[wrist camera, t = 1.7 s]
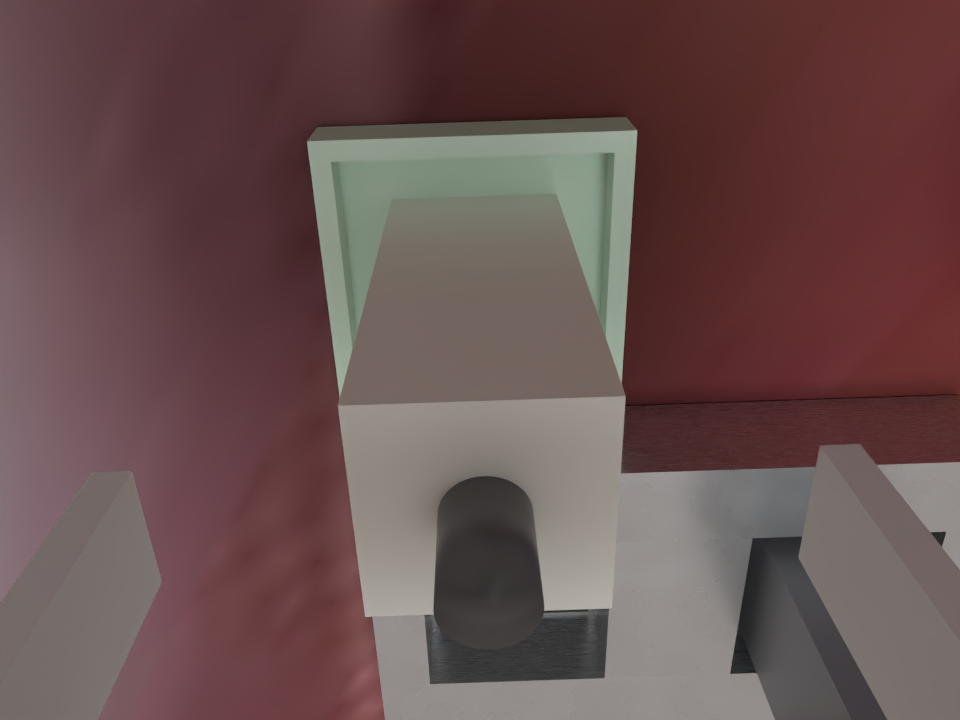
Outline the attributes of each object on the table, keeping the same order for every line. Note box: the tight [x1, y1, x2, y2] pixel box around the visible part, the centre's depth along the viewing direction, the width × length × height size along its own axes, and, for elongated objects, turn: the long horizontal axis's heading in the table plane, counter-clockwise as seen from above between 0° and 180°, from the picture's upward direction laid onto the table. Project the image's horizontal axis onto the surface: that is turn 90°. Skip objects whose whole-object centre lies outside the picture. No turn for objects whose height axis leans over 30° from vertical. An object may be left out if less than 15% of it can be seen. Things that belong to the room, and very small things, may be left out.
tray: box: [307, 117, 637, 396], centre depth 26 cm, size 9×9×2 cm
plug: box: [338, 194, 626, 649], centre depth 20 cm, size 5×5×14 cm
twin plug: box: [738, 537, 887, 720], centre depth 25 cm, size 5×5×14 cm
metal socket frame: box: [373, 395, 960, 720], centre depth 30 cm, size 12×21×4 cm, turn 92°
